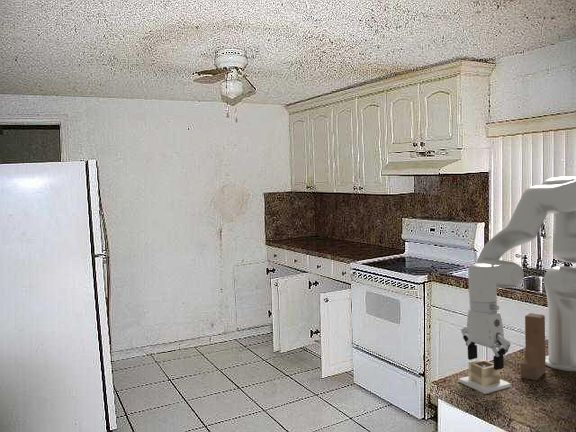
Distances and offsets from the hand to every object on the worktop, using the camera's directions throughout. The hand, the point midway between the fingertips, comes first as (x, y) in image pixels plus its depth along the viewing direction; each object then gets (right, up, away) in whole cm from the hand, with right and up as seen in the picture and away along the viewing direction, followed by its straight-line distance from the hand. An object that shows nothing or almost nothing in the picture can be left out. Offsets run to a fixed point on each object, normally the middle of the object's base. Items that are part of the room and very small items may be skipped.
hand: (485, 363), depth 141 cm
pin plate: (0, -6, 0) cm, 6 cm away
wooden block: (+17, -5, +6) cm, 19 cm away
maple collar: (0, -5, 0) cm, 5 cm away
